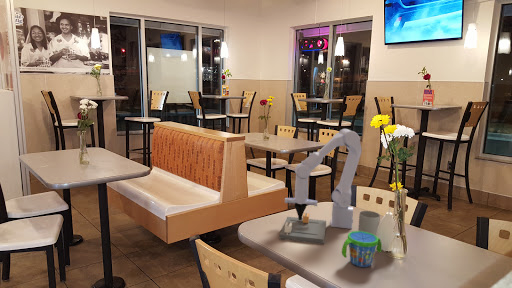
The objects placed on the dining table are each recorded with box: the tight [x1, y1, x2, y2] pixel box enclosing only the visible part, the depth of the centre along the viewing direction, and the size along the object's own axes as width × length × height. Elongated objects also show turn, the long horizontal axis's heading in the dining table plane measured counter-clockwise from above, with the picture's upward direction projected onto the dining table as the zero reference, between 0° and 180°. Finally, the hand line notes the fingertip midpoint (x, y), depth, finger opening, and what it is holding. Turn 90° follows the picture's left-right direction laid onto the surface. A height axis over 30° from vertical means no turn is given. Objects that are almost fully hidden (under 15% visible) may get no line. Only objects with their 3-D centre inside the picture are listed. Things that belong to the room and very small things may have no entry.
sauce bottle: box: [377, 206, 396, 252], centre depth 139 cm, size 8×8×18 cm
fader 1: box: [285, 222, 292, 233], centre depth 151 cm, size 2×4×3 cm, turn 166°
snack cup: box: [341, 230, 383, 268], centre depth 129 cm, size 16×10×10 cm
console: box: [279, 216, 327, 245], centre depth 157 cm, size 18×21×2 cm
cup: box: [357, 210, 381, 236], centre depth 152 cm, size 8×8×10 cm
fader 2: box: [302, 212, 310, 223], centre depth 162 cm, size 2×4×3 cm, turn 166°
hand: (300, 219), depth 163 cm, fingers closed
